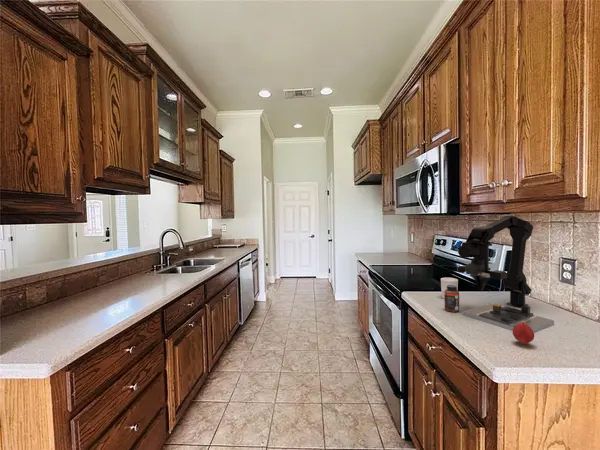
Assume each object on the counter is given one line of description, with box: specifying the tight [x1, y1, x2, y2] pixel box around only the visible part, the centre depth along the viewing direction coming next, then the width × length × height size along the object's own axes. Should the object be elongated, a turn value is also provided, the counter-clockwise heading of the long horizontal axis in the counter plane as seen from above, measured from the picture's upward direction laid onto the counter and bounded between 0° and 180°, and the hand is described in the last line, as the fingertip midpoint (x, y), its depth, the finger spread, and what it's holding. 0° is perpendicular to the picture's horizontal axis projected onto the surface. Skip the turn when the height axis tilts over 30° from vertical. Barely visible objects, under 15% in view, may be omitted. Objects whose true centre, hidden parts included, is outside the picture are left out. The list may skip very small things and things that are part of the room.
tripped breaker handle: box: [492, 303, 502, 312], centre depth 121 cm, size 2×2×3 cm
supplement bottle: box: [444, 285, 460, 313], centre depth 130 cm, size 6×6×11 cm
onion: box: [512, 321, 535, 346], centre depth 96 cm, size 6×6×8 cm
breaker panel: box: [462, 303, 555, 333], centre depth 118 cm, size 20×24×5 cm
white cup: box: [440, 277, 459, 300], centre depth 147 cm, size 8×8×10 cm
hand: (480, 291), depth 127 cm, fingers closed
